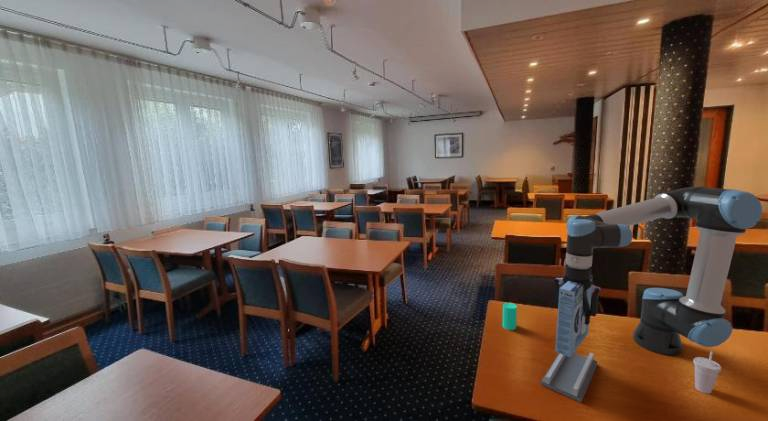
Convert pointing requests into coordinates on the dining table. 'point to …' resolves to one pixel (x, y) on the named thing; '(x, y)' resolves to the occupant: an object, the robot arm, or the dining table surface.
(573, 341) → the gum box
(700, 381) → the smoothie
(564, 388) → the door track
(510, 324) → the candle
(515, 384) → the dining table surface
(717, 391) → the dining table surface
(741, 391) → the dining table surface
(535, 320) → the dining table surface
